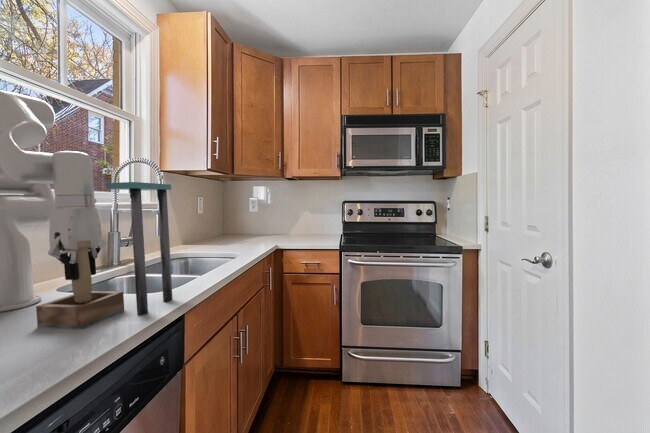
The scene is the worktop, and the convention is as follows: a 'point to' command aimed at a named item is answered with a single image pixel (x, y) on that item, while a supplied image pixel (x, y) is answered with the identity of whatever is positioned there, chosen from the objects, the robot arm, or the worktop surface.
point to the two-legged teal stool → (139, 239)
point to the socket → (79, 310)
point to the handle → (82, 274)
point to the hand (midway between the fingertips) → (81, 276)
